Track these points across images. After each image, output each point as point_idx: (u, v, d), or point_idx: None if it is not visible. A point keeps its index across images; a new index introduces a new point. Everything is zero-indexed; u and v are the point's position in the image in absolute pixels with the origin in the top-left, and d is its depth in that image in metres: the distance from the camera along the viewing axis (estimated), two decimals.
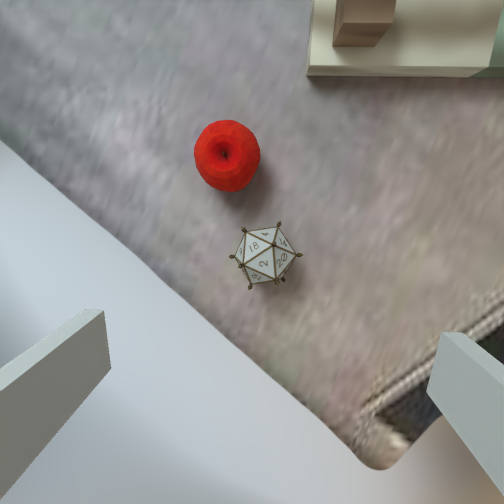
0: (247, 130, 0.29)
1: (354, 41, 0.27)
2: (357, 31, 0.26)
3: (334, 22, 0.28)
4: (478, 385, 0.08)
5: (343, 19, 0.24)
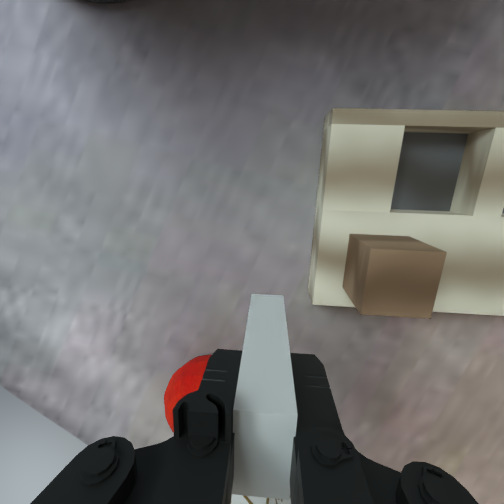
0: None
1: None
2: None
3: (346, 262, 0.21)
4: None
5: (360, 308, 0.17)
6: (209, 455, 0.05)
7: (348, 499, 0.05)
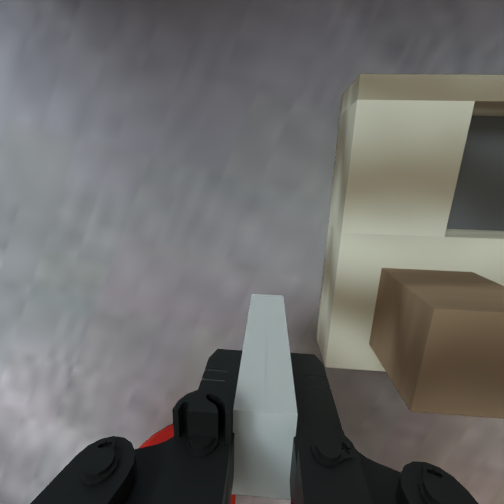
0: None
1: None
2: None
3: (375, 309, 0.14)
4: None
5: (410, 401, 0.10)
6: (209, 455, 0.05)
7: (348, 499, 0.05)
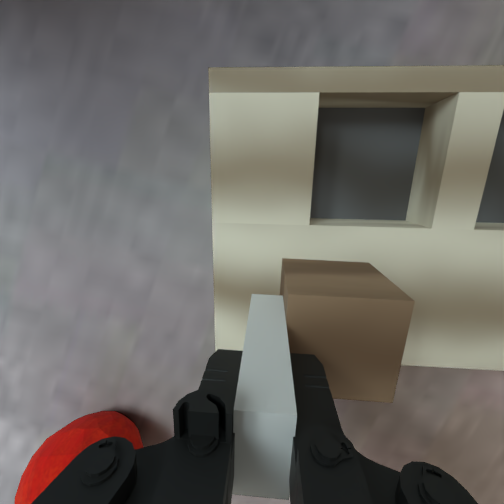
0: None
1: None
2: None
3: None
4: None
5: None
6: (210, 455, 0.05)
7: (347, 499, 0.05)
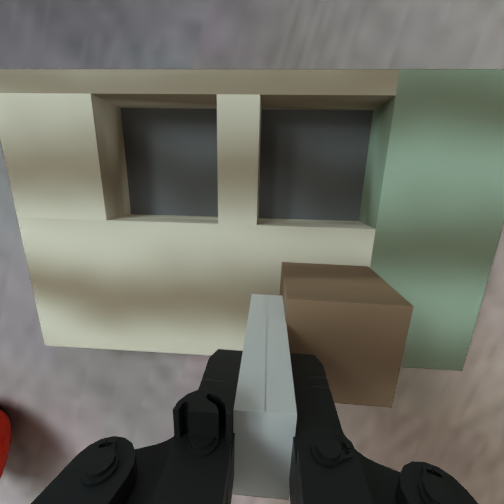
0: None
1: None
2: None
3: None
4: None
5: None
6: (210, 455, 0.05)
7: (348, 499, 0.05)
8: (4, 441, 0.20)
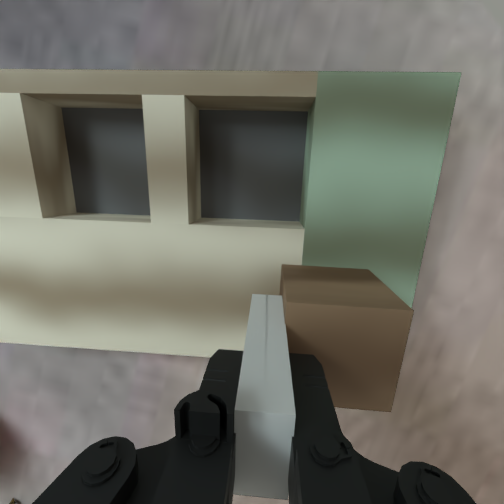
0: None
1: None
2: None
3: None
4: None
5: None
6: (211, 455, 0.05)
7: (346, 499, 0.05)
8: None
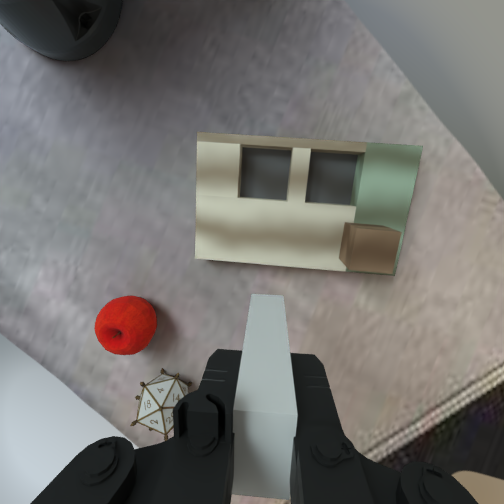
0: (139, 312, 0.34)
1: None
2: None
3: None
4: None
5: (349, 266, 0.28)
6: (209, 455, 0.05)
7: (348, 499, 0.05)
8: None
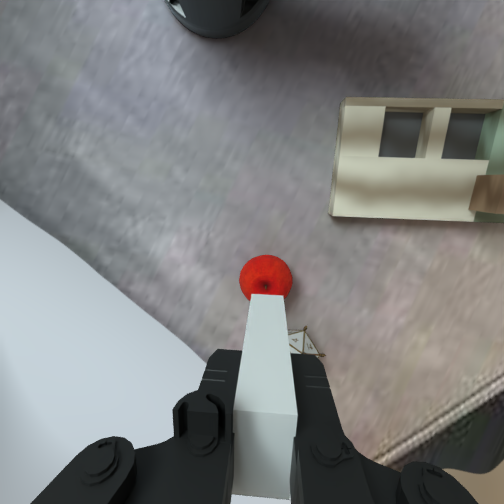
0: (283, 267, 0.37)
1: None
2: None
3: (472, 193, 0.35)
4: None
5: (495, 210, 0.31)
6: (209, 455, 0.05)
7: (348, 499, 0.05)
8: None
